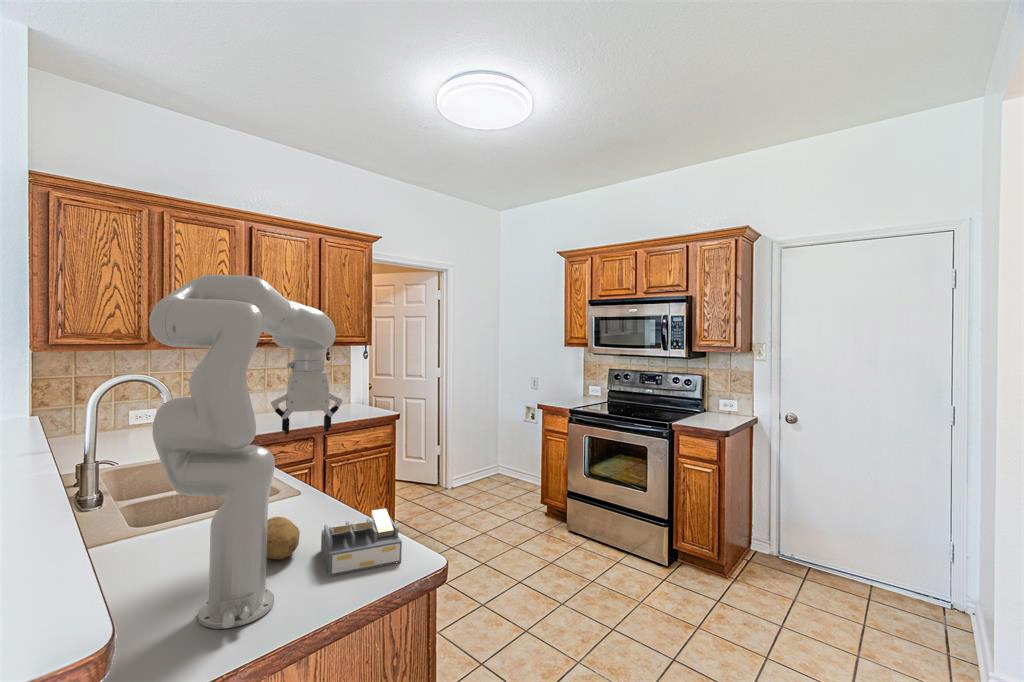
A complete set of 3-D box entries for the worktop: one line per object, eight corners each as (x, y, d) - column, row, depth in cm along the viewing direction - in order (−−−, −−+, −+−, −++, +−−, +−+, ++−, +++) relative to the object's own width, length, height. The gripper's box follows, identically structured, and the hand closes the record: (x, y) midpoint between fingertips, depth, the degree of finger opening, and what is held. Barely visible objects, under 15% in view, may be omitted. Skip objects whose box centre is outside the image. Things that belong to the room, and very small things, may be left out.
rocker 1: (350, 531, 110) (350, 524, 111) (334, 533, 109) (333, 527, 109) (344, 530, 117) (344, 524, 117) (328, 533, 115) (328, 527, 116)
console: (401, 562, 113) (402, 532, 113) (329, 577, 105) (330, 544, 105) (386, 539, 126) (387, 511, 125) (321, 550, 118) (321, 521, 118)
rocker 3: (393, 534, 116) (393, 530, 115) (377, 537, 114) (378, 532, 114) (385, 513, 122) (386, 508, 122) (371, 515, 121) (371, 510, 120)
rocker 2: (372, 527, 113) (372, 521, 113) (356, 530, 111) (356, 523, 112) (365, 527, 119) (365, 521, 120) (350, 530, 118) (350, 523, 118)
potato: (256, 574, 106) (257, 538, 106) (252, 548, 118) (253, 516, 118) (304, 564, 111) (305, 530, 111) (296, 541, 123) (297, 510, 123)
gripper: (273, 368, 118) (271, 437, 118) (346, 368, 127) (344, 432, 127) (270, 366, 124) (268, 432, 125) (340, 366, 133) (338, 427, 134)
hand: (306, 432), depth 126 cm, fingers open, 9 cm apart
